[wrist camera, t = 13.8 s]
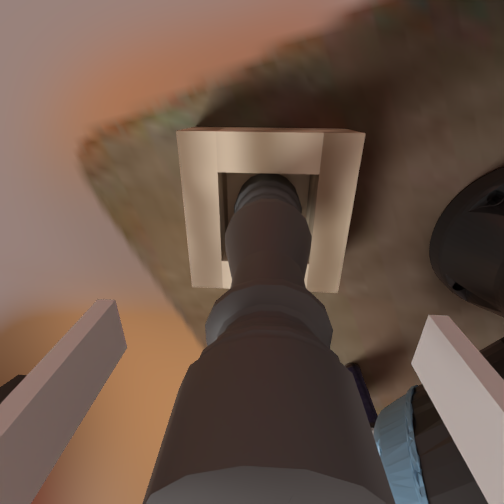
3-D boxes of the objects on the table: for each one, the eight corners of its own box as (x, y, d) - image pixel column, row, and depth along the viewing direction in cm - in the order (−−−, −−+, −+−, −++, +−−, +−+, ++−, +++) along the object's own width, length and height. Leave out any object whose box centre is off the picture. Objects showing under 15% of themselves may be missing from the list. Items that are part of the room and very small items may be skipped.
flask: (344, 406, 43) (365, 491, 34) (325, 403, 43) (340, 487, 33) (363, 363, 39) (393, 445, 29) (342, 360, 39) (365, 441, 29)
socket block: (346, 128, 26) (365, 133, 21) (326, 262, 32) (337, 292, 27) (195, 126, 27) (176, 130, 21) (204, 258, 33) (192, 287, 28)
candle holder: (301, 226, 29) (410, 592, 7) (243, 235, 30) (175, 591, 8) (294, 166, 27) (433, 446, 4) (231, 177, 28) (74, 465, 5)
